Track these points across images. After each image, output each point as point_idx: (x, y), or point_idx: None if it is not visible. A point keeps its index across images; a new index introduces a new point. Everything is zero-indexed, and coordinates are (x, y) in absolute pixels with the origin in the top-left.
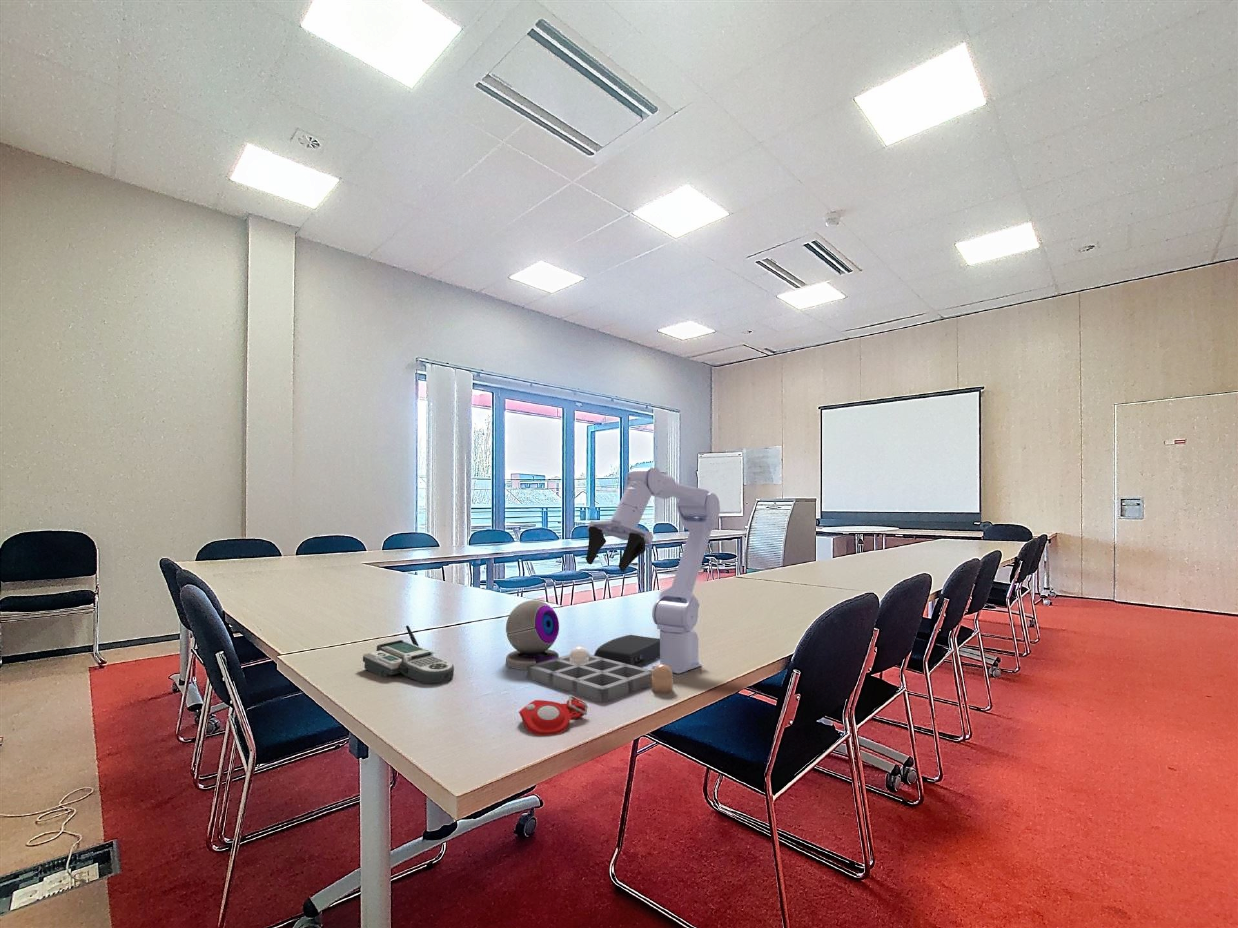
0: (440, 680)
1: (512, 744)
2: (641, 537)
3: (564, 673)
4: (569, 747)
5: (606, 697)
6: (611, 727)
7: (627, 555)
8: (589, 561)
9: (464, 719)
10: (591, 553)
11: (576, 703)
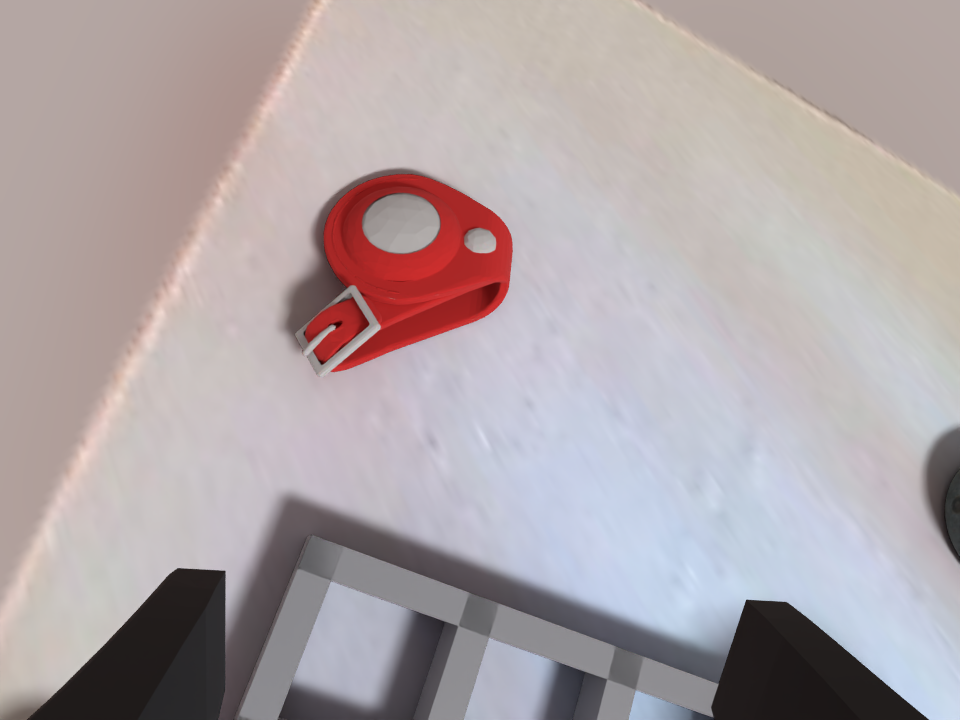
0: (952, 485)
1: (427, 105)
2: None
3: (590, 718)
4: (254, 123)
5: (299, 558)
6: (176, 305)
7: (45, 710)
8: (732, 646)
9: (661, 228)
10: (795, 699)
11: (338, 315)
